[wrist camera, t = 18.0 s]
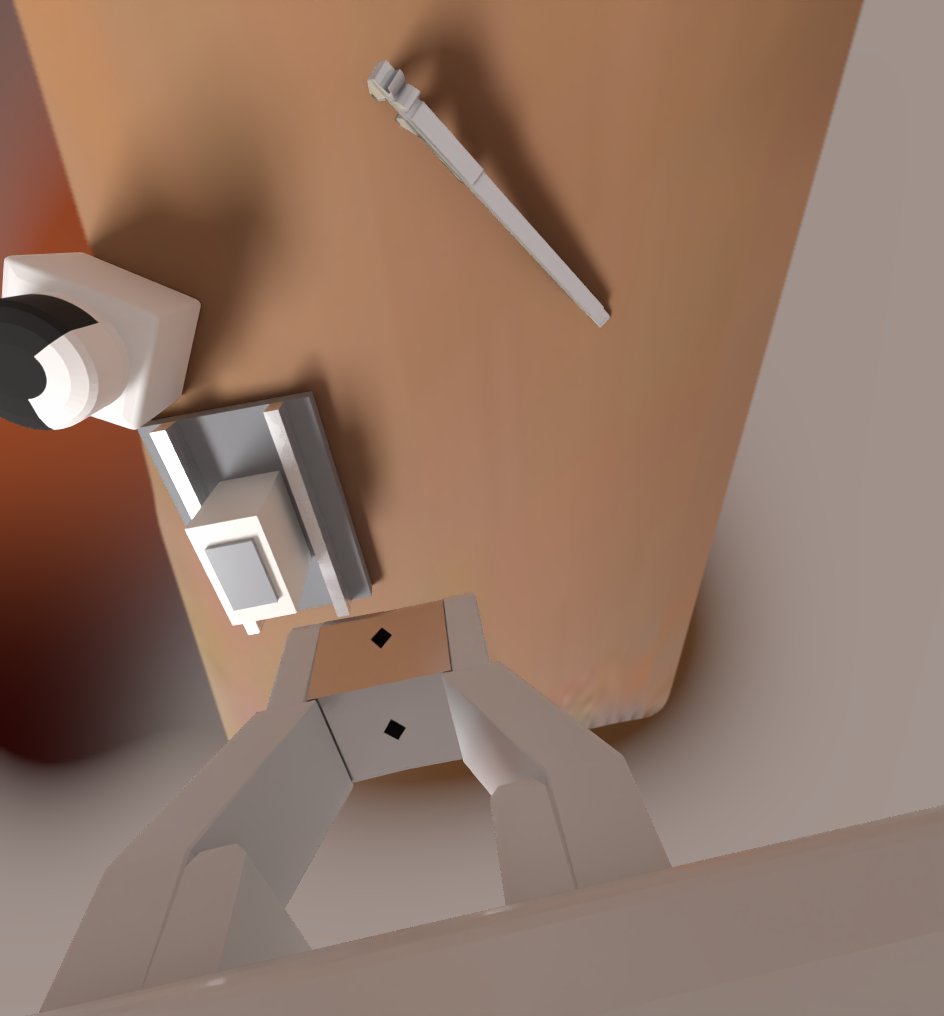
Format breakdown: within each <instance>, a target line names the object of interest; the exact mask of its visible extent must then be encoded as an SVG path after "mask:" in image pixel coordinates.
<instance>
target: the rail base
mask: <svg viewBox="0 0 944 1016" xmlns="http://www.w3.org/2000/svg"><path fill="white" fill-rule="evenodd" d="M282 401H284V402H285V405H286V408H287V411H288V414H289V417H290V420H291V423H292V426H293V429H294V432H295V435H296V438H297V441H298V444H299V447H300V449H301V452H302V455H303V458H304V461H305V464H306V467H307V470H308V473H309V476H310V479H311V482H312V485H313V488H314V491H315V494H316V497H317V499H318V502H319V505H320V508H321V511H322V514H323V517H324V520H325V523H326V526H327V529H328V532H329V535H330V538H331V541H332V544H333V547H334V549H335V552H336V555H337V558H338V561H339V564H340V567H341V570H342V573H343V576H344V579H345V582H346V585H347V588H348V591H349V594H350V597H351V599H352V600H353V599H358V598H363V597H368V596H371V595H372V583H371V580H370V577H369V574H368V570H367V567H366V564H365V561H364V557H363V554H362V551H361V548H360V544H359V541H358V538H357V535H356V531H355V528H354V525H353V522H352V519H351V515H350V512H349V509H348V506H347V502H346V499H345V496H344V493H343V489H342V486H341V483H340V480H339V476H338V473H337V470H336V467H335V464H334V460H333V457H332V454H331V451H330V447H329V444H328V441H327V438H326V434H325V431H324V428H323V425H322V421H321V418H320V415H319V412H318V409H317V405H316V402H315V399H314V396H313V392H312V391H309V392H304V393H298V394H293V395H287V396H282V397H276V398H271V399H265V400H260V401H254V402H249V403H243V404H238V405H232V406H227V407H221V408H216V409H210V410H205V411H199V412H194V413H188V414H183V415H178V416H172V417H167V418H161V419H156V420H150V421H148V422H147V423H146V424H144V425H143V426H141V427H140V428H138V429H137V430H138V432H139V434H140V436H141V438H142V440H143V442H144V444H145V446H146V448H147V450H148V452H149V454H150V456H151V458H152V460H153V462H154V464H155V466H156V468H157V470H158V472H159V474H160V476H161V478H162V480H163V482H164V484H165V486H166V488H167V490H168V492H169V494H170V496H171V498H172V500H173V502H174V504H175V506H176V508H177V510H178V512H179V514H180V516H181V518H182V520H183V522H184V524H185V526H186V527H187V525H188V524H189V523H190V521H191V520H192V519H191V517H190V514H189V512H188V510H187V508H186V506H185V504H184V502H183V500H182V498H181V496H180V494H179V492H178V490H177V488H176V486H175V484H174V482H173V480H172V478H171V476H170V474H169V472H168V470H167V468H166V465H165V463H164V461H163V459H162V457H161V455H160V453H159V451H158V449H157V447H156V445H155V443H154V441H153V439H152V437H151V435H150V433H151V432H152V431H153V430H155V429H156V428H157V427H158V426H160V425H161V424H162V423H167V422H173V421H177V423H178V425H179V427H180V429H181V432H182V434H183V436H184V438H185V440H186V443H187V445H188V447H189V449H190V451H191V453H192V456H193V458H194V460H195V462H196V464H197V467H198V469H199V471H200V473H201V475H202V478H203V480H204V482H205V484H206V486H207V489H208V491H209V493H210V494H211V492H212V491H213V490H214V488H215V487H216V486H217V484H218V483H219V482H220V481H225V480H231V479H236V478H242V477H247V476H252V475H258V474H263V473H269V472H274V471H279V470H280V472H281V475H282V478H283V481H284V483H285V486H286V489H287V492H288V494H289V497H290V500H291V502H292V505H293V508H294V511H295V513H296V516H297V519H298V522H299V524H300V527H301V530H302V532H303V535H304V538H305V541H306V543H307V546H308V549H309V552H310V554H311V557H312V558H311V562H310V566H309V570H308V573H307V577H306V581H305V584H304V588H303V592H302V596H301V599H300V603H299V607H298V610H303V609H308V608H313V607H318V606H323V605H328V604H333V602H332V600H331V597H330V594H329V591H328V589H327V586H326V583H325V580H324V578H323V575H322V572H321V570H320V567H319V564H318V561H317V559H316V556H315V553H314V550H313V548H312V545H311V542H310V539H309V537H308V534H307V531H306V528H305V526H304V523H303V520H302V517H301V515H300V512H299V509H298V507H297V504H296V501H295V498H294V496H293V493H292V490H291V487H290V485H289V482H288V479H287V476H286V474H285V471H284V468H283V465H282V463H281V460H280V457H279V454H278V452H277V449H276V446H275V444H274V441H273V438H272V435H271V433H270V430H269V427H268V424H267V422H266V419H265V416H264V413H263V412H264V411H265V409H266V408H267V407H268V406H269V404H271V403H277V402H282ZM298 610H297V611H298Z"/></svg>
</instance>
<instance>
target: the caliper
mask: <svg viewBox="0 0 944 1016" xmlns="http://www.w3.org/2000/svg"><path fill="white" fill-rule="evenodd" d="M367 81H368V87H369V92H370V94H371V95H372V96H373V98H374V99H375V100H376V101H386V100H387V101H388V102H389V103H390V104H391V105H392V106H393V107H394V108H395V109H396V110H397V111H398V113H399V114H398V115H397V117H396V118H395V120H396V121H397V122H398V123H399V124H400V125H401V126H402V127H403V128H405V129H407V130H408V131H410V132H412V133H413V134H415V135H417V136H418V137H420V138H421V139H422V140H423V141H424V142H425V143H426V144H427V145H428V146H429V147H430V149H431V150H432V151H433V152H434V154H435V155H436V156H437V157H438V158H439V160H440V161H441V162H442V163H443V164H444V165H445V166H446V167H447V168H448V169H449V170H450V171H451V172H452V173H453V175H454V176H455V177H456V178H457V179H458V180H459V181H460V182H461V183H464V184H465V185H466V186H467V187H468V188H469V189H470V190H471V191H472V192H473V193H474V194H475V195H476V197H477V198H478V199H479V200H480V201H481V202H482V203H483V204H484V205H485V206H486V207H487V208H488V209H489V210H490V212H491V213H492V214H493V215H494V216H495V217H496V218H497V219H498V220H499V221H500V222H501V223H502V224H503V226H504V227H505V228H506V229H507V230H508V231H509V232H510V233H511V234H512V235H513V236H514V237H515V238H516V239H517V241H518V242H519V243H520V244H521V245H522V246H523V247H524V248H525V249H526V250H527V251H528V252H529V253H530V255H531V256H532V257H533V258H534V259H535V260H536V261H537V262H538V263H539V264H540V265H541V266H542V267H543V269H544V270H545V271H546V272H547V273H548V274H549V275H550V276H551V277H552V278H553V279H554V280H555V281H556V283H557V284H558V285H559V286H560V287H561V288H562V289H563V290H564V291H565V292H566V293H567V294H568V295H569V297H570V298H571V299H572V300H573V301H574V302H575V303H576V304H577V305H578V306H579V307H580V308H581V309H582V310H583V311H584V312H585V313H586V314H587V315H588V316H590V318H591V319H592V320H593V321H594V322H595V323H596V324H597V325H598V326H599V327H600V328H601V327H602V326H603V325H604V324H605V322H606V321H607V320H608V319H609V318H610V316H609V314H608V313H607V312H606V311H605V310H604V309H603V308H604V307H603V306H602V304H601V303H600V302H599V301H598V300H597V299H596V298H595V297H594V295H593V294H592V293H591V292H590V291H589V290H588V289H587V288H586V286H585V285H584V284H583V283H582V282H581V281H580V280H579V279H578V277H577V276H576V275H575V274H574V273H573V272H572V271H571V270H570V268H569V267H568V266H567V265H566V264H565V263H564V262H563V261H562V259H561V258H560V257H559V256H558V255H557V254H556V253H555V252H554V250H553V249H552V248H551V247H550V246H549V245H548V244H547V243H546V241H545V240H544V239H543V238H542V237H541V236H540V235H539V234H538V232H537V231H536V230H535V229H534V228H533V227H532V226H531V225H530V223H529V222H528V221H527V220H526V219H525V218H524V217H523V216H522V214H521V213H520V212H519V211H518V210H517V209H516V208H515V207H514V205H513V204H512V203H511V202H510V201H509V200H508V199H507V198H506V197H505V195H504V194H503V193H502V192H501V191H500V190H499V189H498V188H497V186H496V185H495V184H494V183H493V182H492V181H491V180H490V179H489V177H488V176H487V175H486V174H485V173H484V172H483V169H482V167H481V166H480V165H479V164H478V163H477V162H476V161H475V159H474V158H473V157H472V156H471V155H470V154H469V153H468V152H467V150H466V149H465V148H464V147H463V146H462V145H461V144H460V142H459V141H458V140H457V139H456V138H455V137H454V136H453V134H452V133H451V132H450V131H449V130H448V129H447V128H446V127H445V125H444V124H443V123H442V122H441V121H440V120H439V119H438V117H437V116H436V115H435V114H434V113H433V112H432V111H431V110H430V108H429V107H428V106H427V105H426V104H425V103H424V102H423V101H422V102H421V101H420V100H419V99H418V96H419V95H420V93H421V92H420V91H419V90H418V89H416V88H415V87H413V86H412V85H410V84H405V77H404V74H403V72H402V71H401V69H398V70H396V71H395V69H394V68H393V67H392V66H391V65H390V64H389V63H388V62H387V61H386V60H385V61H381V62H378V63H377V65H376V67H375V68H374V70H373V71H372V73H371V75H370V76H369V78H368V80H367Z"/></svg>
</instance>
